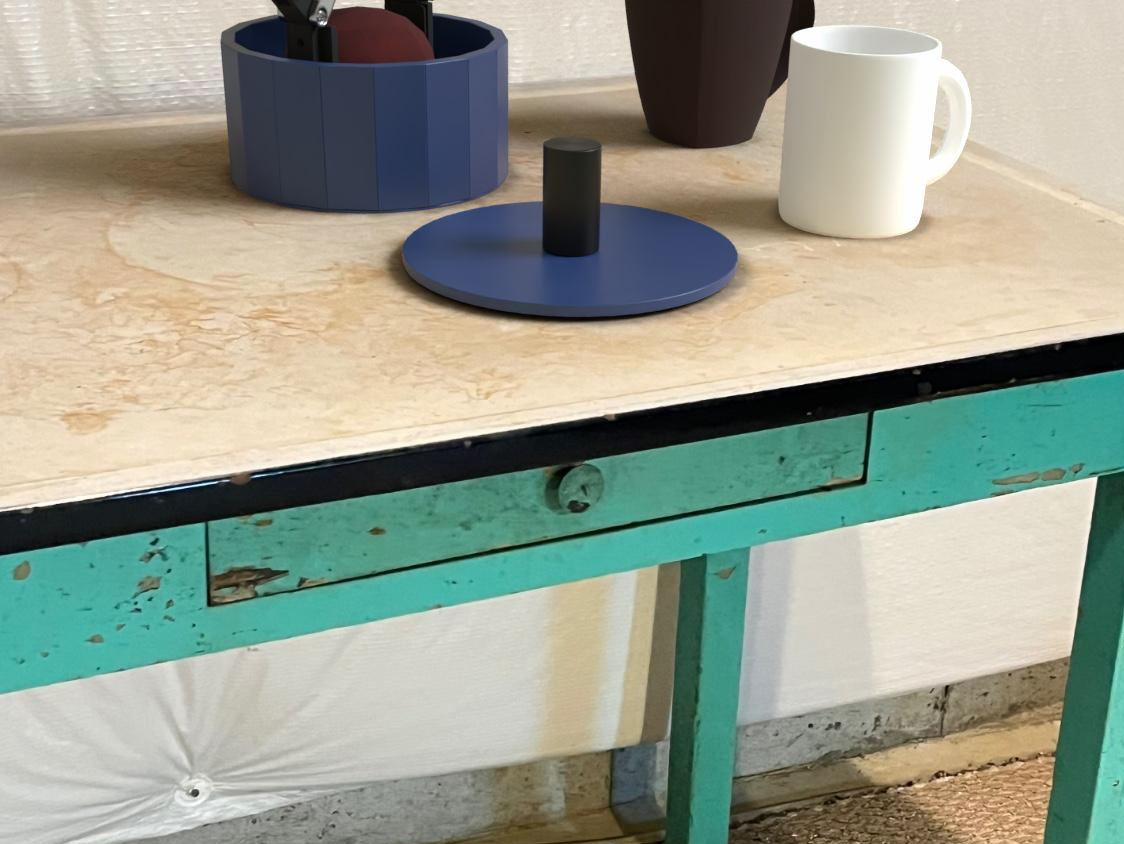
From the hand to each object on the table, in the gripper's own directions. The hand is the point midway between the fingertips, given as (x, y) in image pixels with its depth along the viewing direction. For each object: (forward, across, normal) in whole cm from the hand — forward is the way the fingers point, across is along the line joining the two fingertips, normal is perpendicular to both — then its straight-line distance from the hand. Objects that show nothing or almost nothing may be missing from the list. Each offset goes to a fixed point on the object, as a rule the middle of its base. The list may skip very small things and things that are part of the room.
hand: (363, 80), depth 101 cm
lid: (+5, +8, +19) cm, 21 cm away
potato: (+2, 0, 0) cm, 2 cm away
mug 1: (+6, -22, +13) cm, 26 cm away
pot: (+6, 0, 0) cm, 6 cm away
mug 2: (+6, -10, +29) cm, 31 cm away
